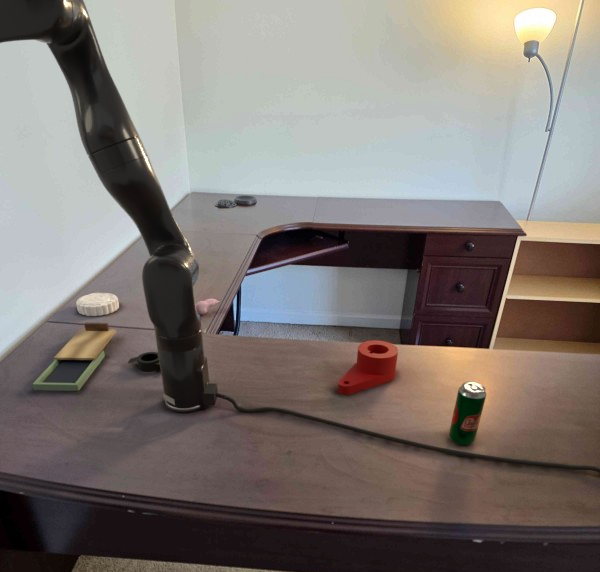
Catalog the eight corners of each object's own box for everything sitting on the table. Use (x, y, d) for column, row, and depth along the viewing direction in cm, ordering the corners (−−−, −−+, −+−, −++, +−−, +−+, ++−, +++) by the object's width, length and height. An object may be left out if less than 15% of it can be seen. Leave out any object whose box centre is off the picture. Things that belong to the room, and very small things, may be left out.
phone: (97, 357, 125) (96, 354, 124) (74, 387, 112) (73, 384, 112) (69, 357, 125) (68, 354, 124) (43, 387, 112) (42, 383, 112)
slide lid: (116, 331, 134) (115, 322, 133) (94, 360, 120) (91, 350, 118) (81, 330, 134) (79, 321, 133) (54, 359, 120) (51, 349, 118)
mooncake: (87, 319, 146) (84, 308, 144) (72, 308, 153) (69, 296, 152) (125, 310, 153) (123, 298, 151) (109, 299, 160) (107, 288, 158)
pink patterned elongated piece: (184, 328, 145) (225, 308, 152) (179, 310, 141) (221, 290, 148) (173, 322, 148) (213, 302, 156) (167, 304, 145) (209, 285, 152)
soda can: (459, 449, 96) (471, 396, 89) (443, 434, 100) (453, 383, 93) (480, 443, 98) (493, 390, 91) (463, 429, 101) (475, 378, 95)
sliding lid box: (105, 357, 126) (103, 350, 125) (79, 392, 111) (77, 384, 110) (66, 356, 126) (64, 349, 125) (34, 391, 111) (32, 384, 110)
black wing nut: (153, 356, 127) (152, 345, 125) (176, 369, 121) (174, 358, 120) (126, 366, 122) (124, 355, 121) (148, 380, 116) (146, 369, 115)
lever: (371, 360, 126) (373, 337, 123) (402, 373, 121) (405, 349, 117) (324, 386, 115) (326, 360, 112) (356, 401, 110) (359, 375, 106)
